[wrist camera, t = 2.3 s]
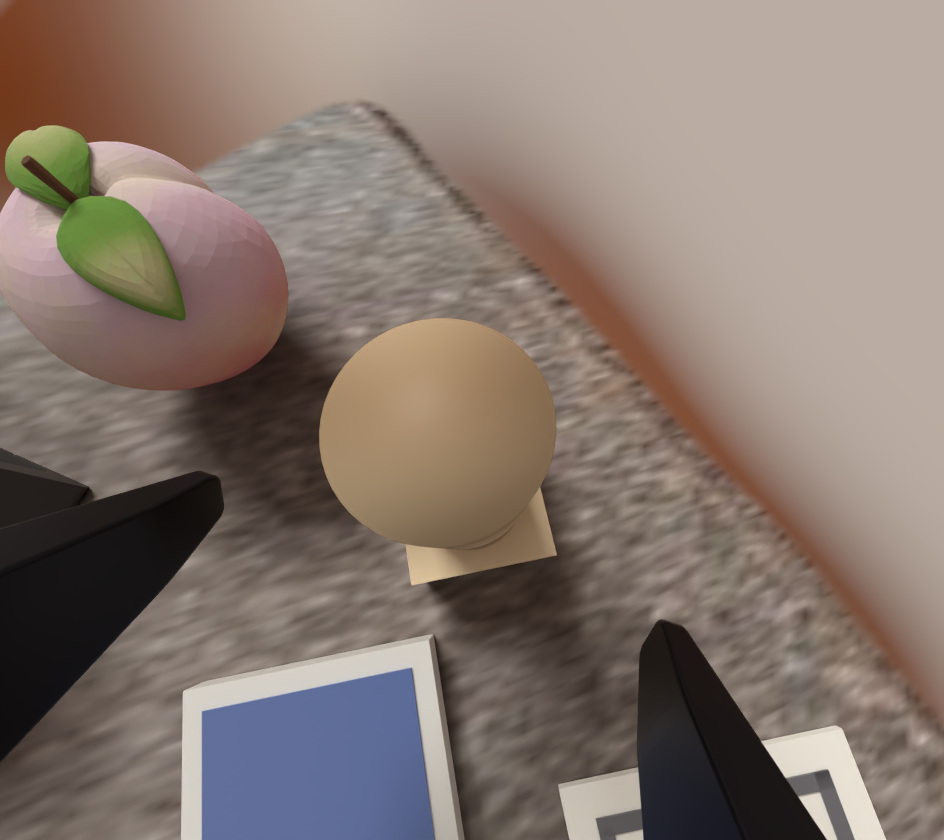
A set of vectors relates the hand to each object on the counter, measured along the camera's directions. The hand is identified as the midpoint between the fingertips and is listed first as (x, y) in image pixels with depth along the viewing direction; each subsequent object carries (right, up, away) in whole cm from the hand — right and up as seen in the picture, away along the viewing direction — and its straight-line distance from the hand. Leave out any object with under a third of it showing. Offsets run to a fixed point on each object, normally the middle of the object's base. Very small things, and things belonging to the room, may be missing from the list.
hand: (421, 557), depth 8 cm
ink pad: (-4, -11, +7) cm, 13 cm away
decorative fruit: (-11, +6, +13) cm, 18 cm away
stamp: (+1, -1, +10) cm, 10 cm away
